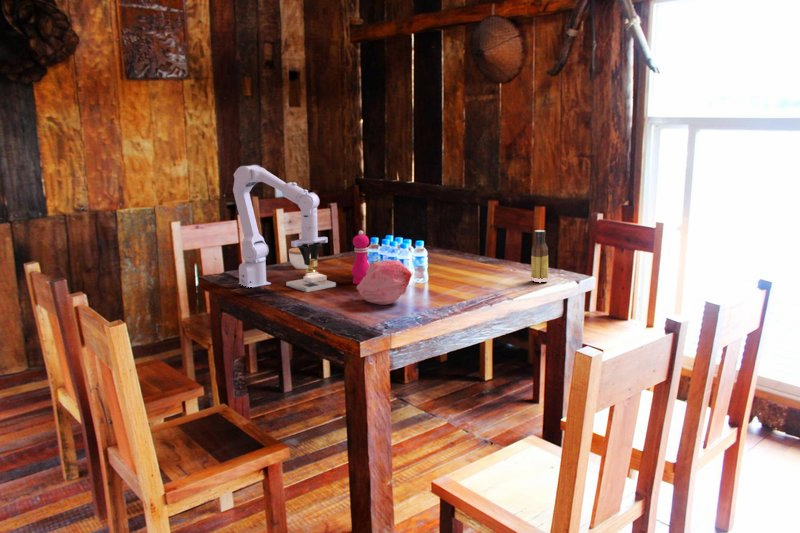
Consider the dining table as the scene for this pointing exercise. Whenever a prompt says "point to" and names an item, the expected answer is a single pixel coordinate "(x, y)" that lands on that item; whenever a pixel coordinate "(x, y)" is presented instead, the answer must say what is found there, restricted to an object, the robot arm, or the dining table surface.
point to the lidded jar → (297, 258)
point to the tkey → (312, 265)
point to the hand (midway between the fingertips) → (310, 264)
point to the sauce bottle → (539, 256)
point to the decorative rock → (384, 282)
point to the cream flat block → (314, 277)
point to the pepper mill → (360, 257)
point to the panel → (310, 285)
